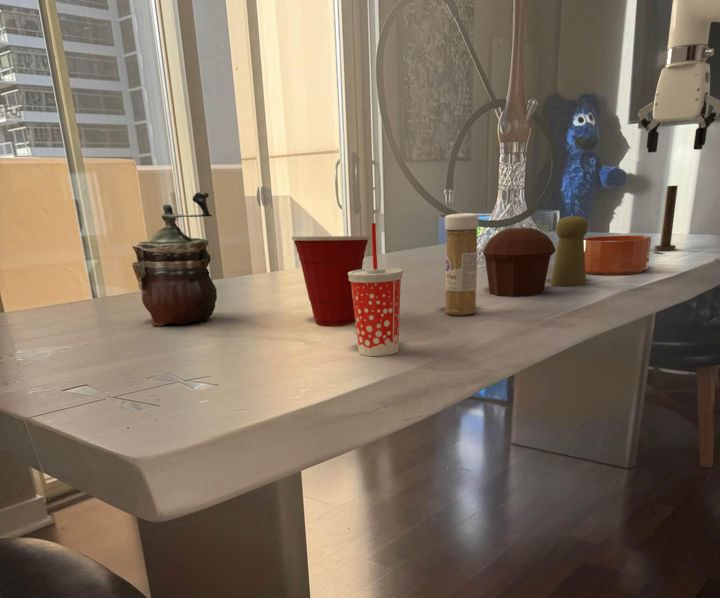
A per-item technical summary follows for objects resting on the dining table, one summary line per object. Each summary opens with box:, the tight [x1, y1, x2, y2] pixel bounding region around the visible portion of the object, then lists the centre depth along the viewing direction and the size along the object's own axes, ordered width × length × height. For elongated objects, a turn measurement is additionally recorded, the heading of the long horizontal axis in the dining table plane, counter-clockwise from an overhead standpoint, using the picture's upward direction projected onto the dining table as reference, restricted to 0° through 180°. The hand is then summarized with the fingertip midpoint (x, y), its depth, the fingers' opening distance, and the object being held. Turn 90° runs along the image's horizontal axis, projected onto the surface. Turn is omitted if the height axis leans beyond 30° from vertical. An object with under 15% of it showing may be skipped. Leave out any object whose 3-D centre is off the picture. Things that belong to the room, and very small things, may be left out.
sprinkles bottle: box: [444, 212, 479, 317], centre depth 97 cm, size 5×5×14 cm
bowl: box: [584, 235, 652, 276], centre depth 132 cm, size 12×12×6 cm
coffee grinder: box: [131, 191, 218, 327], centre depth 101 cm, size 13×15×18 cm
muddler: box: [653, 185, 678, 255], centre depth 154 cm, size 4×4×14 cm
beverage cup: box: [348, 222, 404, 357], centre depth 77 cm, size 6×6×14 cm
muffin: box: [482, 227, 557, 297], centre depth 113 cm, size 12×11×10 cm
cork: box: [549, 215, 589, 287], centre depth 119 cm, size 6×6×11 cm
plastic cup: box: [291, 235, 371, 327], centre depth 96 cm, size 11×11×12 cm
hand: (674, 150), depth 148 cm, fingers open, 9 cm apart
